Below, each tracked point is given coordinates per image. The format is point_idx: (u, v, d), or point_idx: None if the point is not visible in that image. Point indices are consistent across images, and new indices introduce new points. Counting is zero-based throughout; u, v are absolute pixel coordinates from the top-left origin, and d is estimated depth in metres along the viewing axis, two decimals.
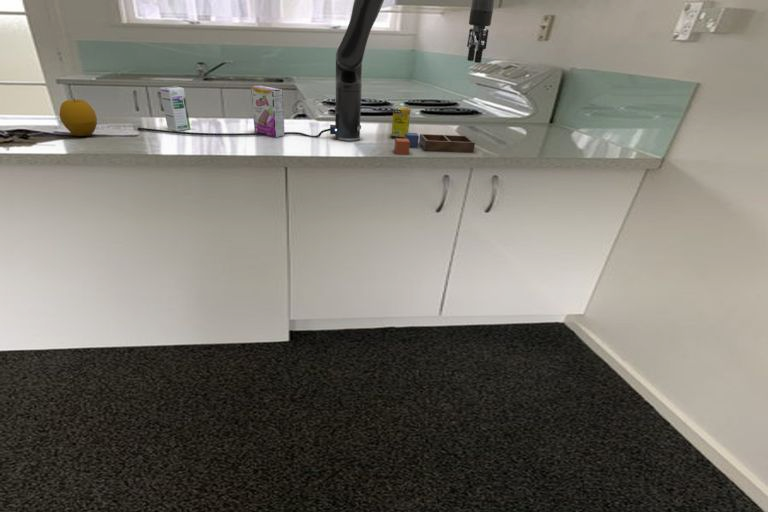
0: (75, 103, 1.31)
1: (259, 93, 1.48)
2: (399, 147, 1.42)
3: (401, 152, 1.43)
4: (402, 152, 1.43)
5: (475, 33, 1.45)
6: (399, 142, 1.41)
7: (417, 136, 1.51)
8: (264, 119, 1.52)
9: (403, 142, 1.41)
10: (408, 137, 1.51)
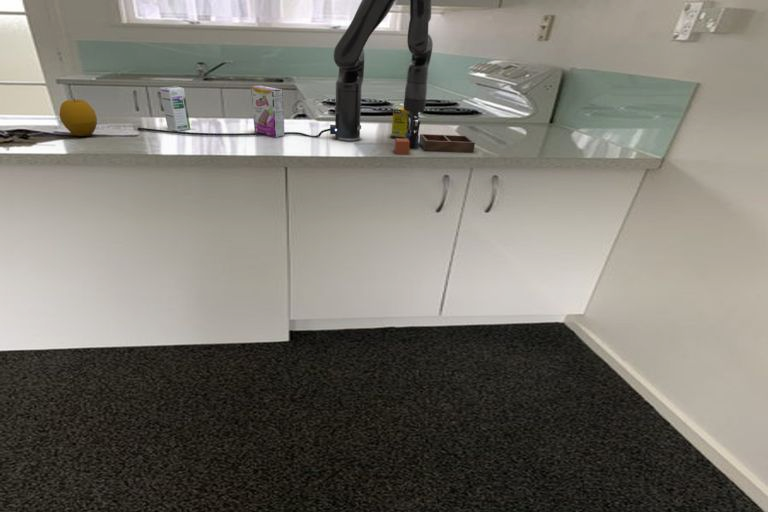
0: (75, 103, 1.31)
1: (259, 93, 1.48)
2: (399, 147, 1.42)
3: (401, 152, 1.43)
4: (402, 152, 1.43)
5: (409, 118, 1.48)
6: (399, 142, 1.41)
7: (417, 136, 1.51)
8: (264, 119, 1.52)
9: (403, 142, 1.41)
10: (408, 137, 1.51)
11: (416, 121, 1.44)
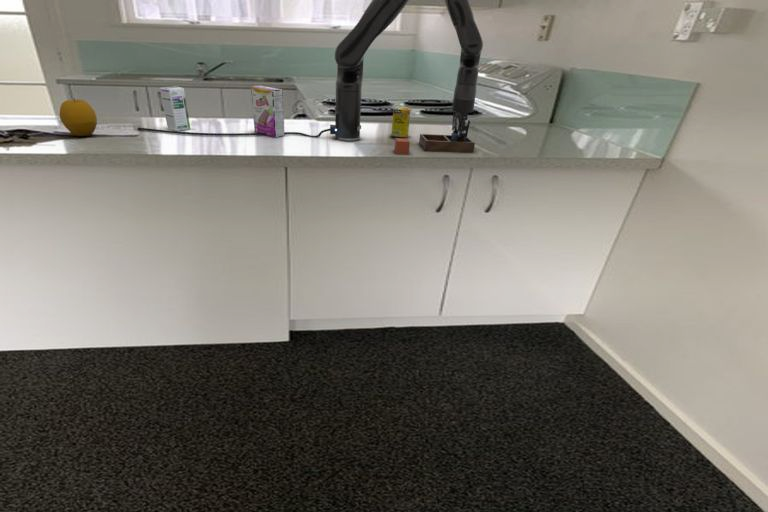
0: (75, 103, 1.31)
1: (259, 93, 1.48)
2: (399, 147, 1.42)
3: (401, 152, 1.43)
4: (402, 152, 1.43)
5: (458, 119, 1.49)
6: (399, 142, 1.41)
7: None
8: (264, 119, 1.52)
9: (403, 142, 1.41)
10: (456, 137, 1.52)
11: (466, 121, 1.45)
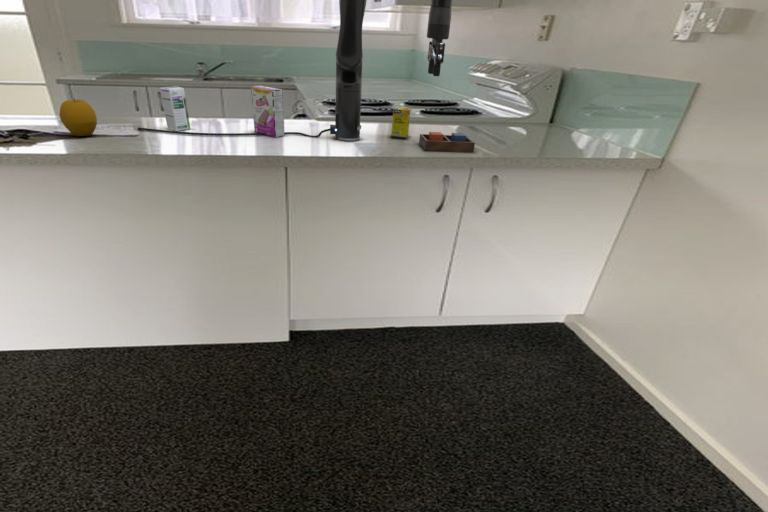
0: (75, 103, 1.31)
1: (259, 93, 1.48)
2: (433, 140, 1.51)
3: None
4: None
5: (433, 46, 1.43)
6: (433, 135, 1.51)
7: (465, 136, 1.52)
8: (264, 119, 1.52)
9: (437, 135, 1.51)
10: (456, 137, 1.52)
11: (441, 43, 1.39)
